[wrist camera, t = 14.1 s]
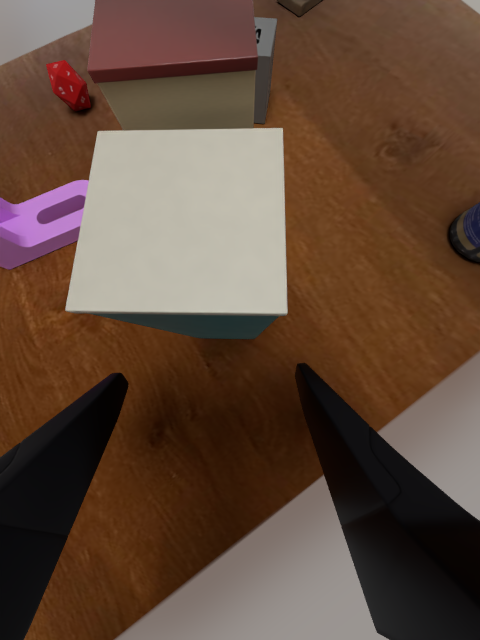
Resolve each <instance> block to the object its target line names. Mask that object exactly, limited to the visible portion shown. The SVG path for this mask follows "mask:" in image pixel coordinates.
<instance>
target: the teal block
mask: <svg viewBox="0 0 480 640" xmlns="http://www.w3.org/2000/svg"><path fill="white" fill-rule="evenodd" d="M65 310H66V311H67V312H72V313H89V314H94V315H98V316H103V317H107V318H112V319H116V320H121V321H125V322H130V323H134V324H138V325H143V326H147V327H152V328H156V329H161V330H165V331H170V332H174V333H179V334H183V335H188V336H192V337H197V338H215V339H255V338H256V337H257V336H258V335H259V334H260V333H261V332H262V331H264V330H265V329H266V328H267V327H268V326H269V325H270V324H271V323H272V322H273V321H274V320H275V319H276V318H278V317H279V316H285V315H286V314H287V274H286V234H285V194H284V154H283V128H252V129H191V130H130V131H98V133H97V139H96V144H95V149H94V155H93V160H92V166H91V171H90V177H89V182H88V188H87V193H86V199H85V204H84V210H83V215H82V221H81V226H80V232H79V237H78V243H77V248H76V254H75V259H74V265H73V270H72V276H71V281H70V287H69V292H68V298H67V303H66V309H65Z"/></svg>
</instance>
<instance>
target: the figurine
mask: <svg viewBox="0 0 480 640" xmlns="http://www.w3.org/2000/svg"><path fill="white" fill-rule="evenodd" d="M277 1H278V2H279V3H281V4H282V5H283V6H285V7H286V8H288V9H289V10H291V11H292V12H294V13H295V14H296V15H298V16H299V17H300V16H301V15H303V14H304V13H305V12H307V11H308V10H309V9H311V8H312V7H314V6H315V5H316V4H318V3H319V2H320V1H322V0H277Z"/></svg>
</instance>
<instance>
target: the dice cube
mask: <svg viewBox="0 0 480 640" xmlns="http://www.w3.org/2000/svg"><path fill="white" fill-rule="evenodd" d="M254 19H255V30H256V41H257V52H258V68H257V70H256V75H255V100H254V123H262V124H265V118H266V113H267V107H268V101H269V95H270V87H271V76H272V66H273V56H274V46H275V36H276V26H277V19H272V18H256V17H254Z"/></svg>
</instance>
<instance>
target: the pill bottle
mask: <svg viewBox="0 0 480 640" xmlns="http://www.w3.org/2000/svg"><path fill="white" fill-rule="evenodd" d="M450 238H451V242H452V244H453V246H454V247H455V249H456V250H457V251H458V252H459V253H461V254H462V255H464V256H465V257H467V258H468V259H471V260H473V261H476V262H480V203H478V204H476V205H475V206H473V207H472V208H470V209H468V210H467V211H465V212H464V213H462V214H461V215H459V216H458V217H457V218H456V219H455V221H454V222H453V224H452V226H451V229H450Z"/></svg>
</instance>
